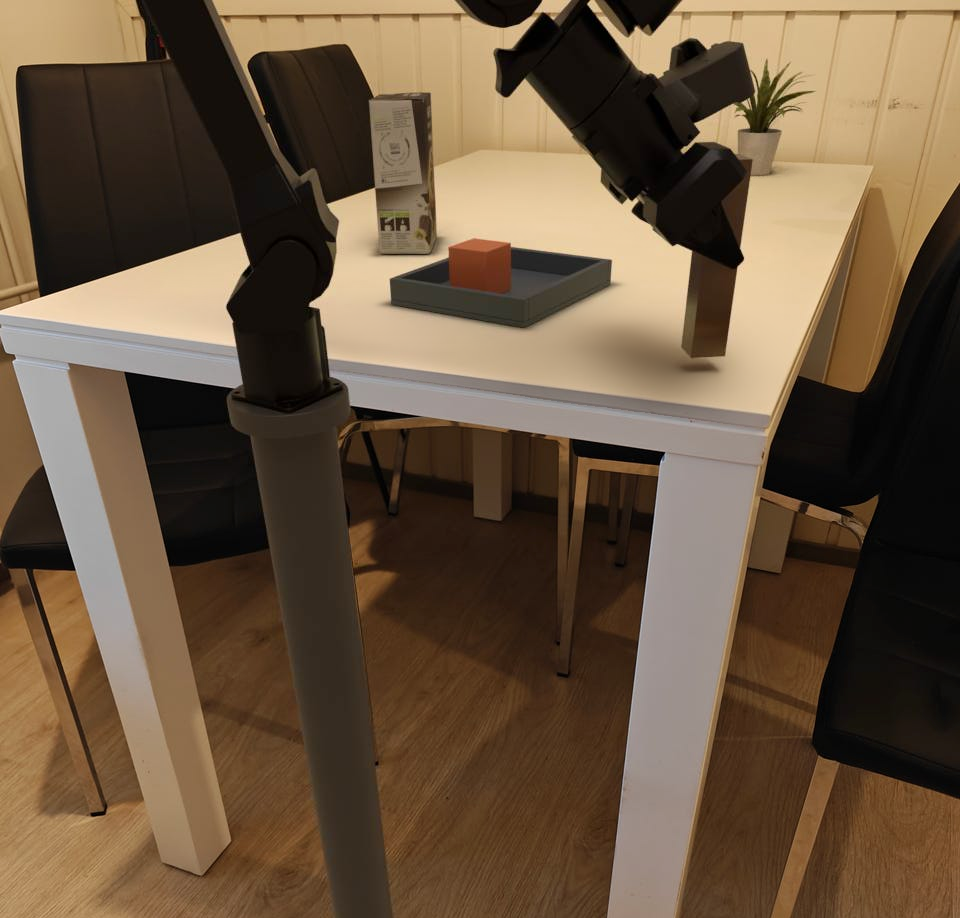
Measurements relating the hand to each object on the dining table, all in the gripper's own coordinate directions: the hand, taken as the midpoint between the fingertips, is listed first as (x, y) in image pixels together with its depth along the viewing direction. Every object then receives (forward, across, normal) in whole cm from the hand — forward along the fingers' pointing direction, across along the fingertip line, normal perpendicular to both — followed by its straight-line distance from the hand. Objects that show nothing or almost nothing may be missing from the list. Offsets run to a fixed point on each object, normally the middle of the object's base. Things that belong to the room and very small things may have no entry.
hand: (732, 259), depth 69 cm
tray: (-4, +25, +16) cm, 30 cm away
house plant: (+31, +93, -19) cm, 99 cm away
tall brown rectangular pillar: (+4, 0, +6) cm, 7 cm away
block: (-6, +24, +18) cm, 31 cm away
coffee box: (-11, +49, +23) cm, 55 cm away
